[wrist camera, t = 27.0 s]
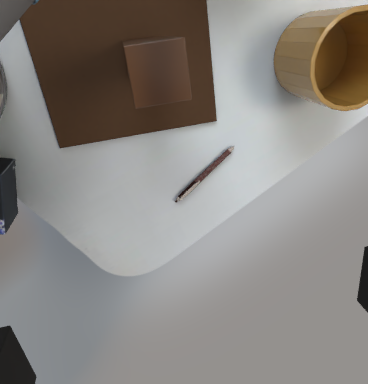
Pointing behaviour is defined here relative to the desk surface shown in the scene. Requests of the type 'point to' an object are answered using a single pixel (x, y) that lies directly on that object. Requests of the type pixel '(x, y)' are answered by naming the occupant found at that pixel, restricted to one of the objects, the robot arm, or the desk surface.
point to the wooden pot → (326, 57)
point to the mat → (113, 65)
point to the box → (7, 194)
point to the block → (158, 70)
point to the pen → (204, 174)
